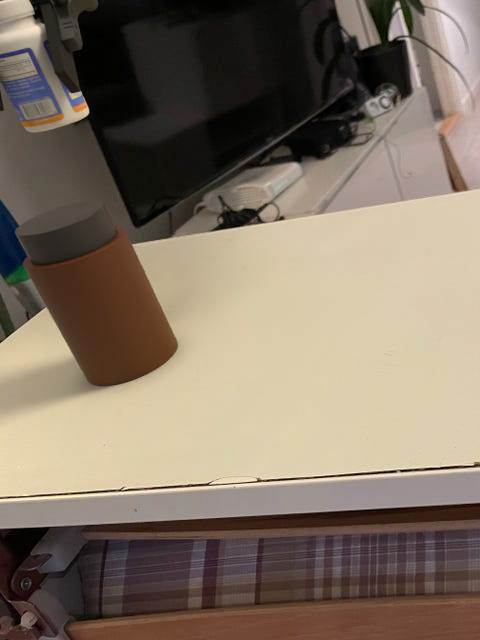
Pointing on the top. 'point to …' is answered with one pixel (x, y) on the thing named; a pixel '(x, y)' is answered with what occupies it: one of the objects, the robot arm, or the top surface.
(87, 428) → the top surface
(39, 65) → the pill bottle
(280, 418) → the top surface
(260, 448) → the top surface
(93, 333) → the brown bottle
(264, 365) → the top surface
